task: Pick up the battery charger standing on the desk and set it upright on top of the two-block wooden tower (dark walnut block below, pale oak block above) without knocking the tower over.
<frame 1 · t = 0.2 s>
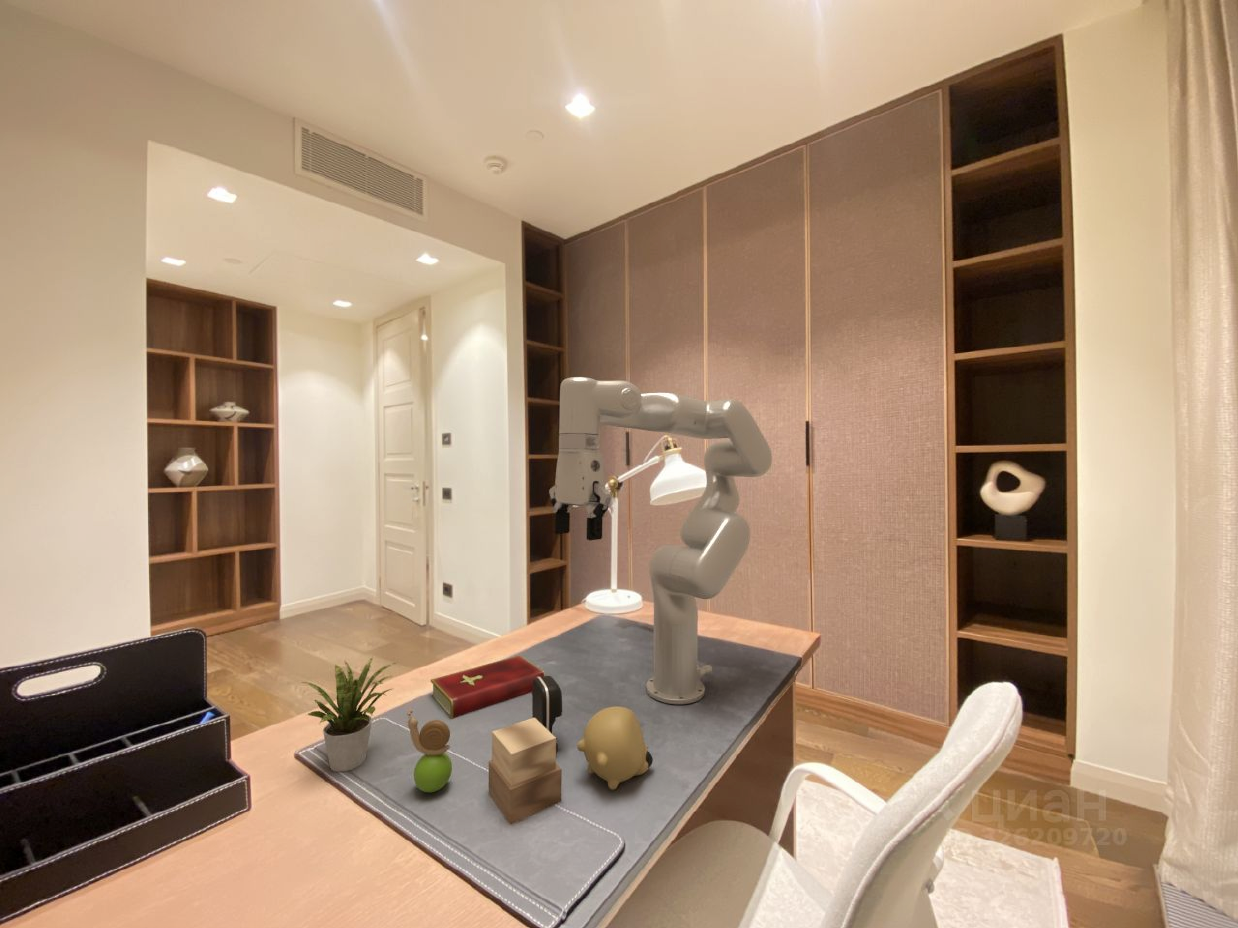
hand: (577, 536, 92), 36 cm above the table, tool pointing down, fingers open, 9 cm apart
hardcover book: (489, 694, 106), on the table
oak block: (523, 764, 73), point 5 cm above the table, touching walnut block
walnut block: (524, 798, 73), on the table, touching oak block
house plant: (356, 762, 82), on the table
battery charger: (547, 745, 87), on the table
snail figurine: (429, 790, 75), on the table
toy pig: (616, 776, 78), on the table
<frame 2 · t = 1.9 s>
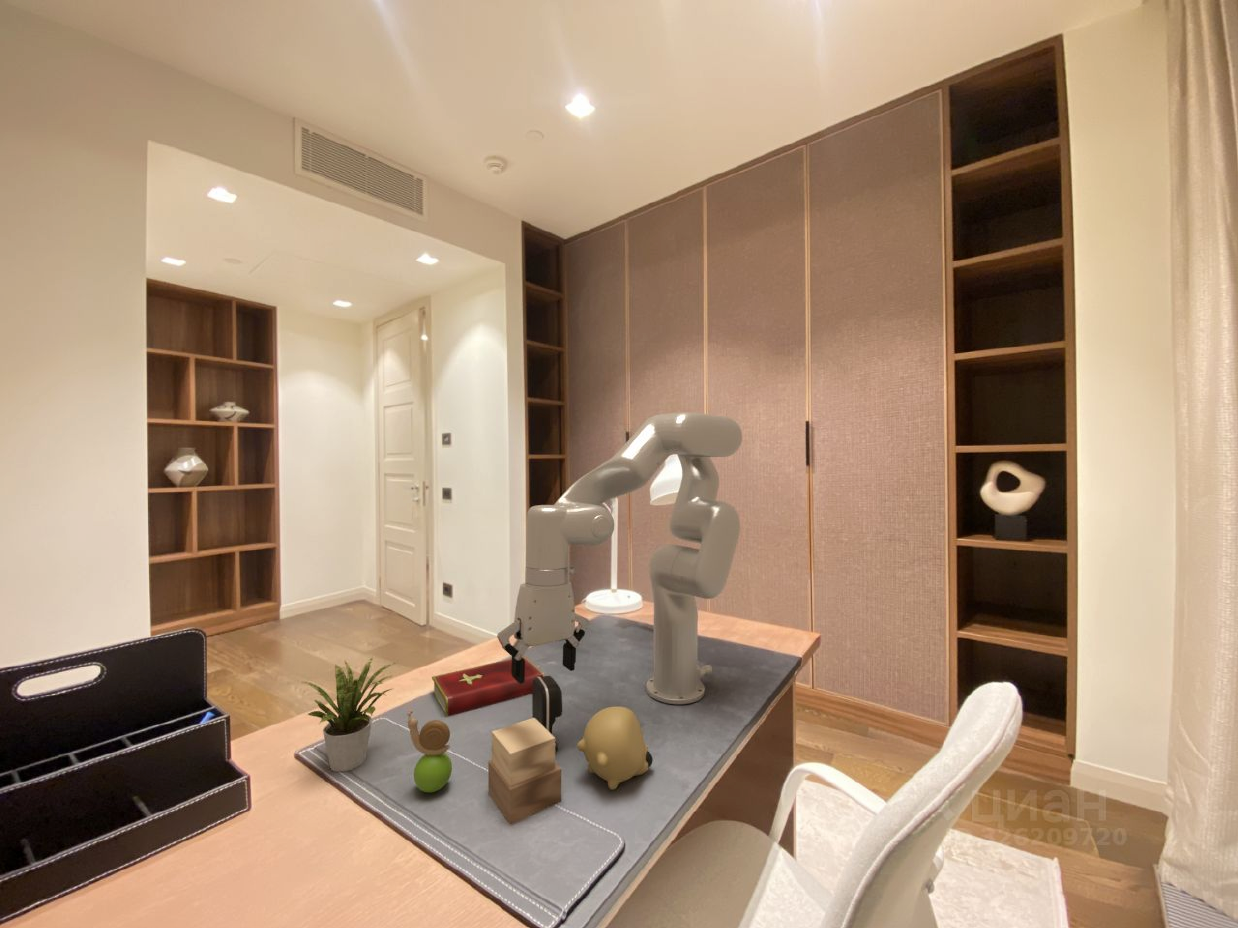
hand: (544, 674, 86), 13 cm above the table, tool pointing down, fingers open, 9 cm apart
oak block: (523, 764, 73), point 5 cm above the table
walnut block: (524, 798, 73), on the table
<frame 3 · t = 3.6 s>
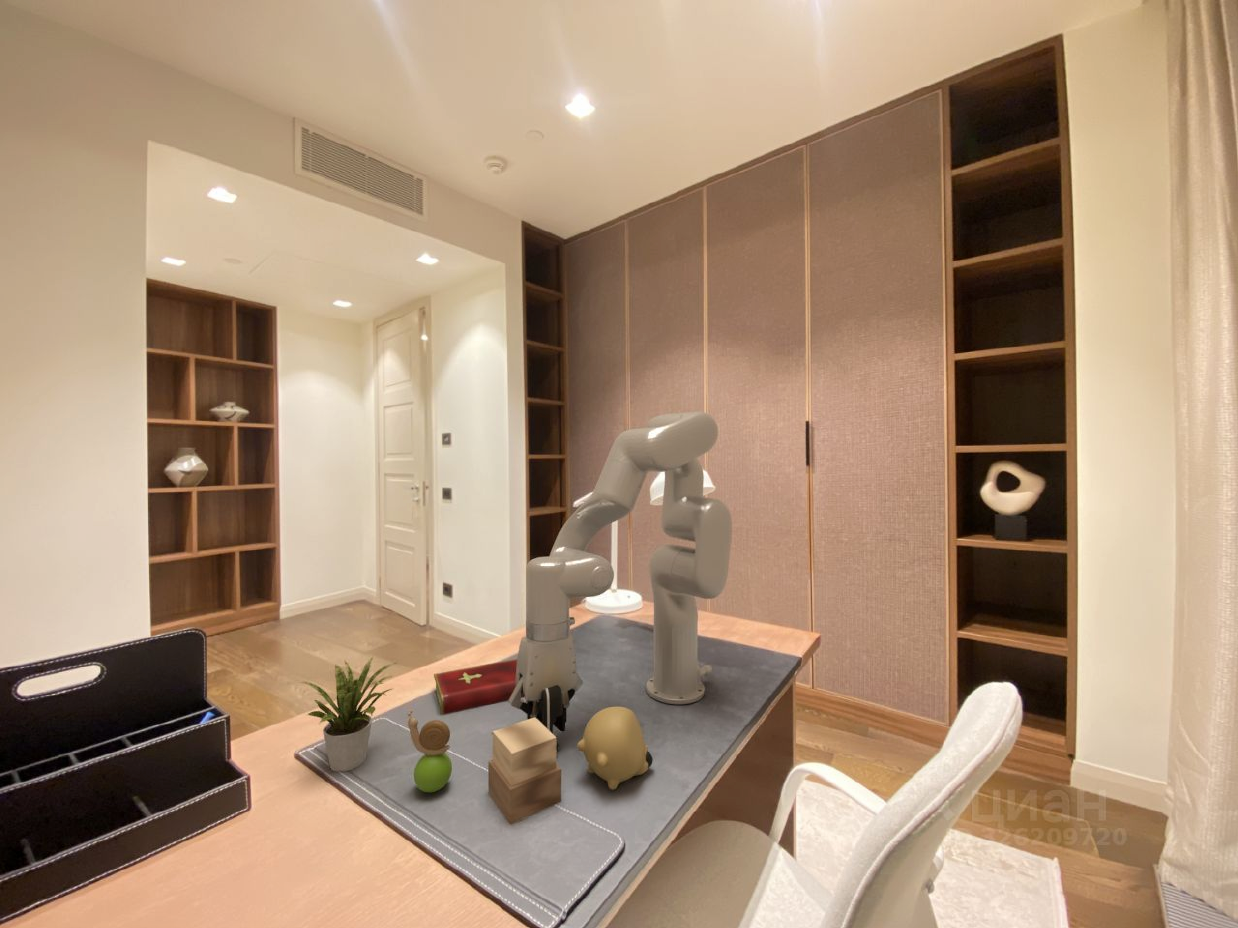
hand: (547, 731, 86), 2 cm above the table, tool pointing down, fingers closed on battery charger, 4 cm apart
oak block: (524, 764, 73), point 5 cm above the table, touching walnut block
walnut block: (524, 798, 73), on the table, touching oak block
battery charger: (548, 745, 87), on the table, touching gripper
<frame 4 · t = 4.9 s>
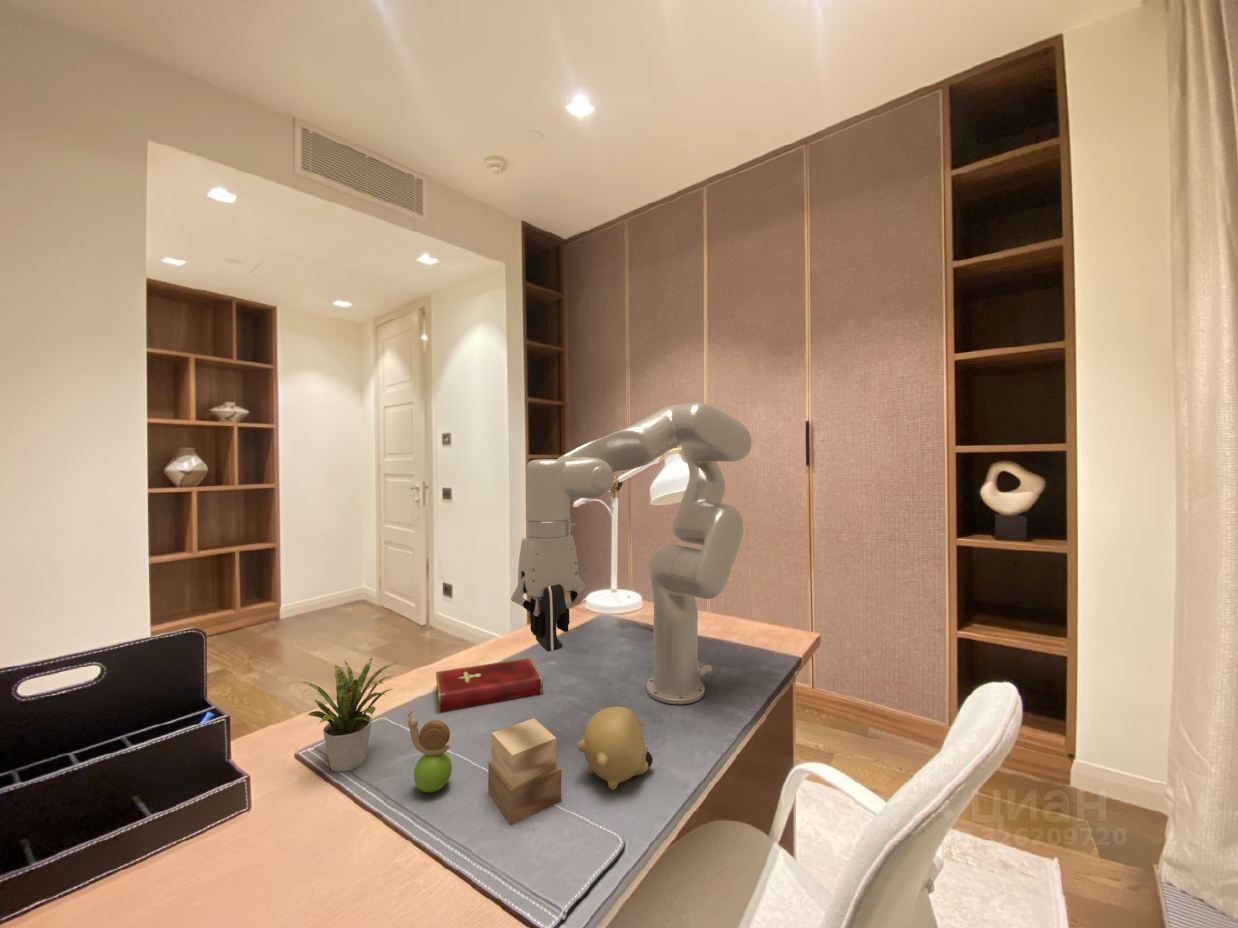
hand: (550, 631, 87), 20 cm above the table, tool pointing down, fingers closed on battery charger, 4 cm apart
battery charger: (551, 646, 87), point 17 cm above the table, touching gripper
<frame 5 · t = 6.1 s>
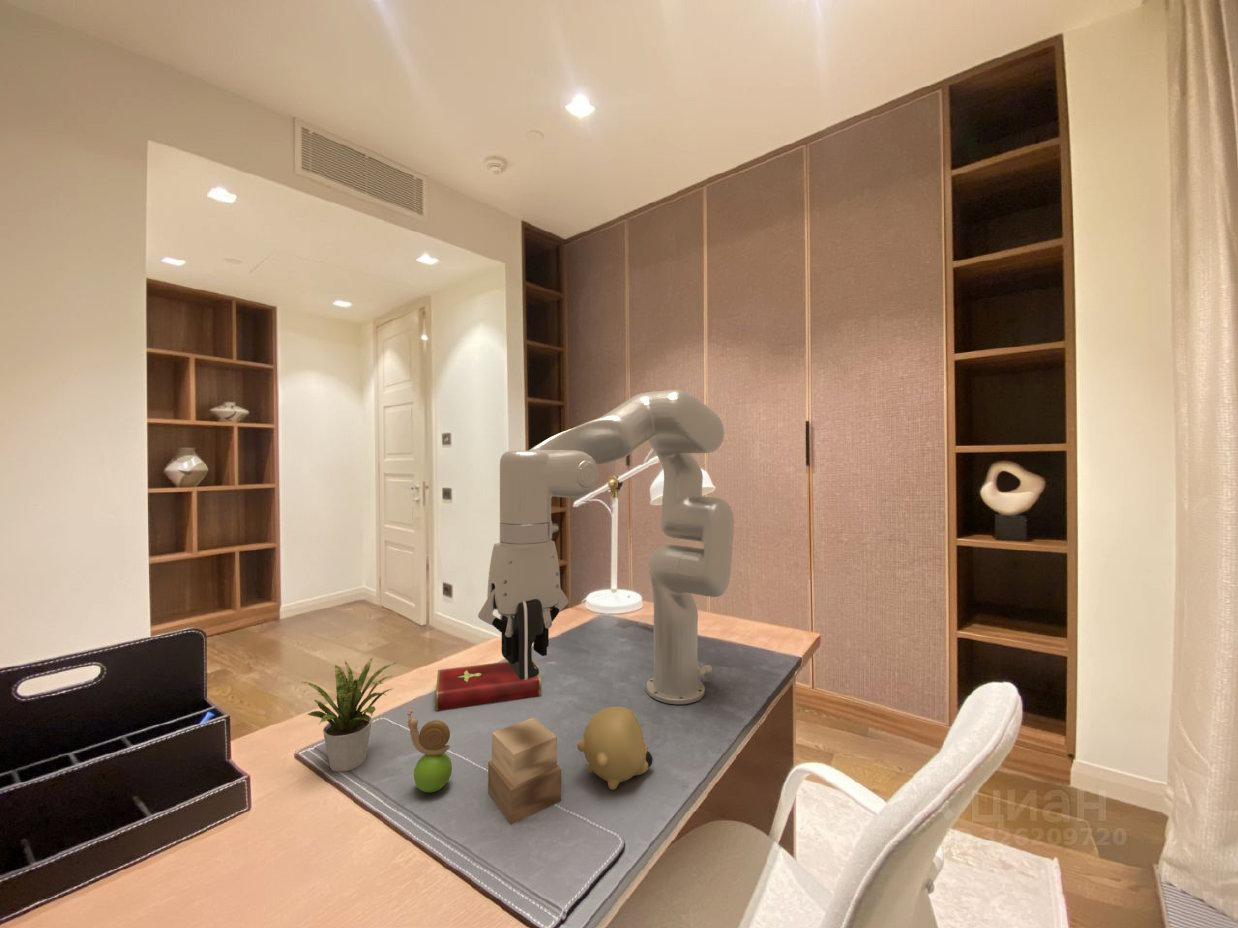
hand: (525, 655, 73), 21 cm above the table, tool pointing down, fingers closed on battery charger, 4 cm apart
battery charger: (526, 672, 73), point 18 cm above the table, touching gripper
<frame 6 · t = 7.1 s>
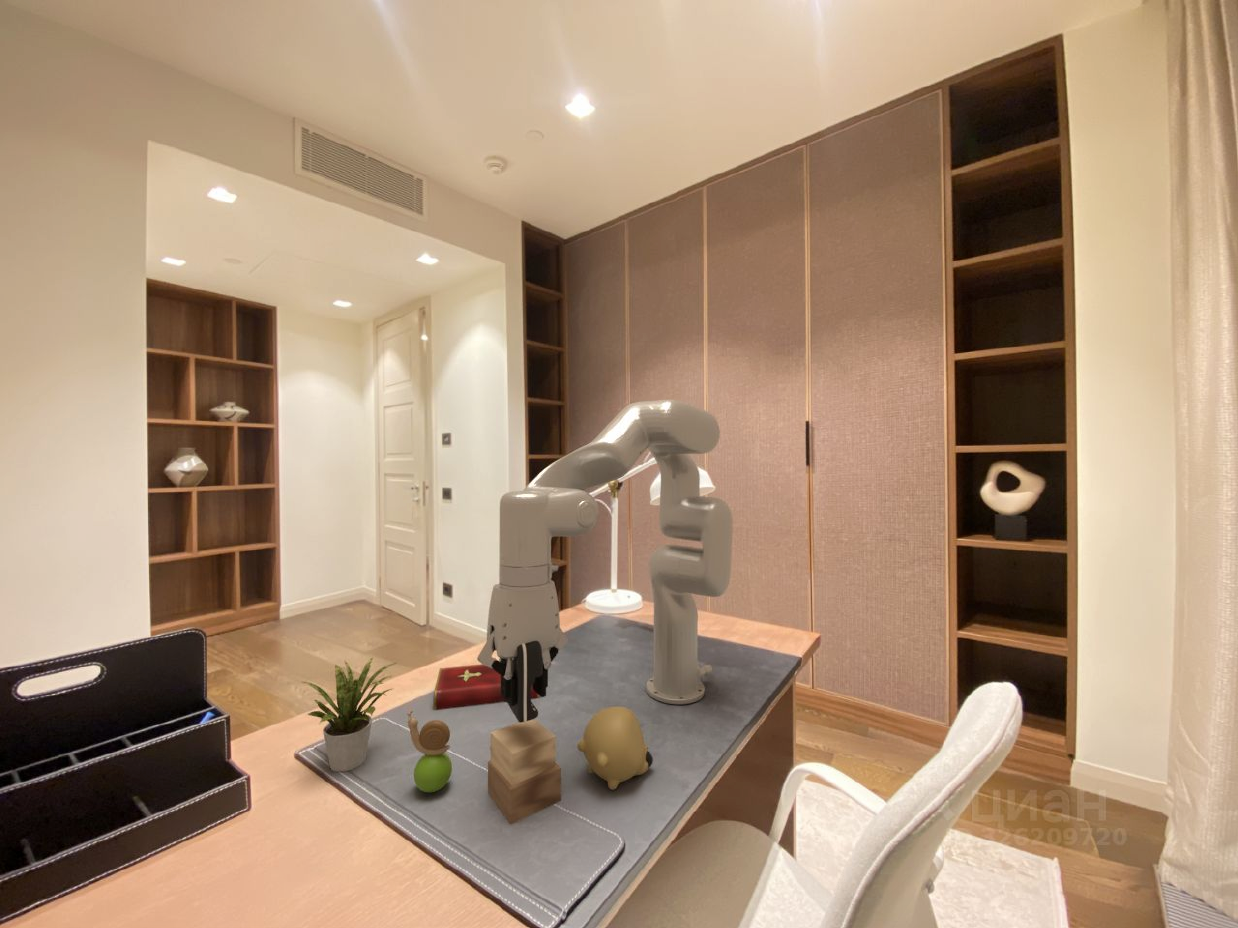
hand: (524, 696, 73), 15 cm above the table, tool pointing down, fingers closed on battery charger, 4 cm apart
oak block: (522, 764, 73), point 5 cm above the table
walnut block: (524, 797, 73), on the table
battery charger: (525, 712, 73), point 12 cm above the table, touching gripper
when the fingers open (13 cm above the table, at t = 8.2 s): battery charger stays where it is, point 10 cm above the table.
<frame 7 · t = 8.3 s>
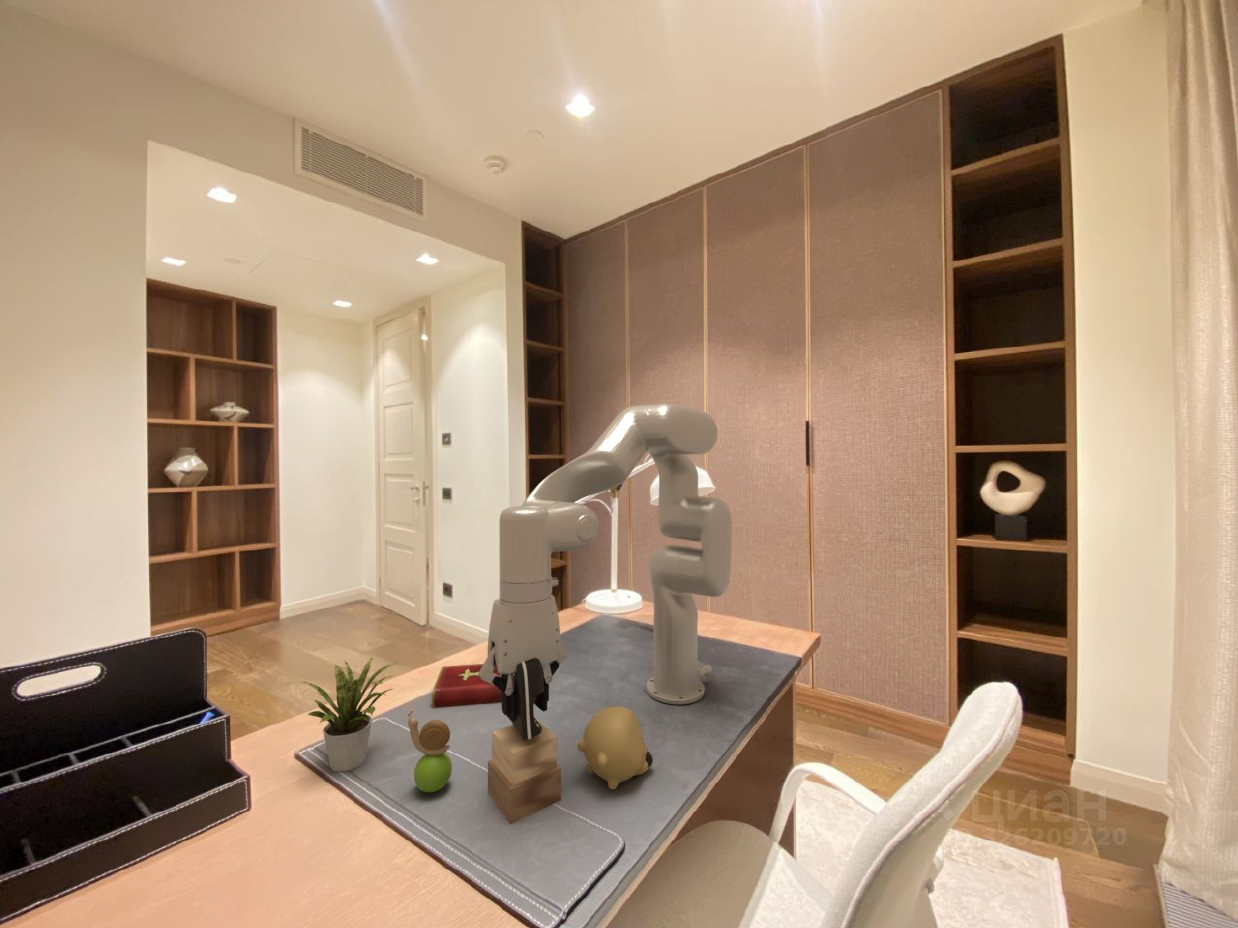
hand: (525, 710, 73), 13 cm above the table, tool pointing down, fingers open, 4 cm apart
oak block: (524, 764, 73), point 5 cm above the table, touching walnut block
walnut block: (523, 797, 73), on the table, touching oak block
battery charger: (528, 728, 74), point 10 cm above the table
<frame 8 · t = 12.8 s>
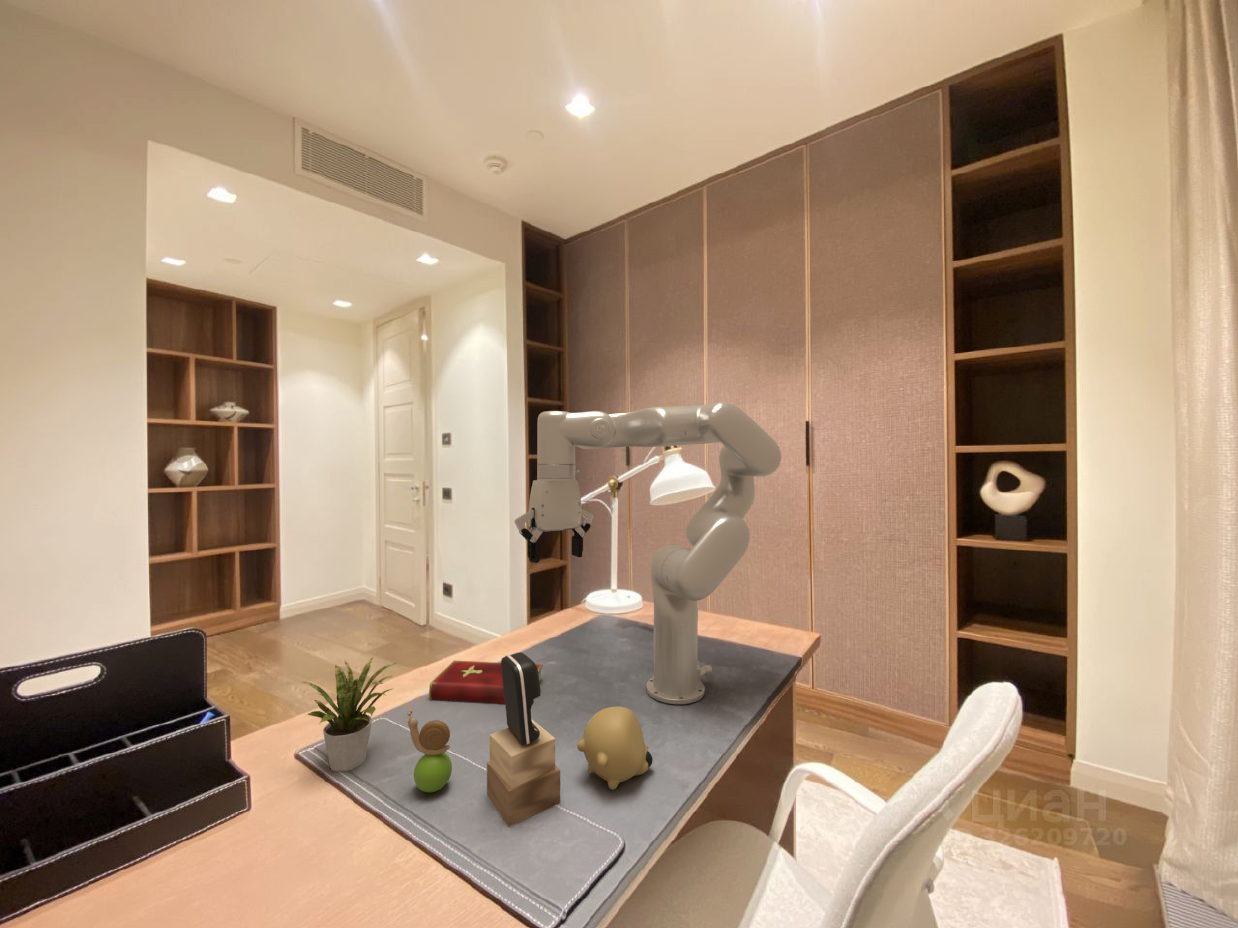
hand: (556, 558, 99), 30 cm above the table, tool pointing down, fingers open, 9 cm apart
oak block: (522, 766, 73), point 5 cm above the table, touching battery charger, walnut block
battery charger: (526, 733, 73), point 9 cm above the table, touching oak block
at the end: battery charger inside the target area on the oak block (0.8 cm from its centre), point 4.3 cm above the oak block's base; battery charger tilted 1°; oak block tilted 0° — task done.
